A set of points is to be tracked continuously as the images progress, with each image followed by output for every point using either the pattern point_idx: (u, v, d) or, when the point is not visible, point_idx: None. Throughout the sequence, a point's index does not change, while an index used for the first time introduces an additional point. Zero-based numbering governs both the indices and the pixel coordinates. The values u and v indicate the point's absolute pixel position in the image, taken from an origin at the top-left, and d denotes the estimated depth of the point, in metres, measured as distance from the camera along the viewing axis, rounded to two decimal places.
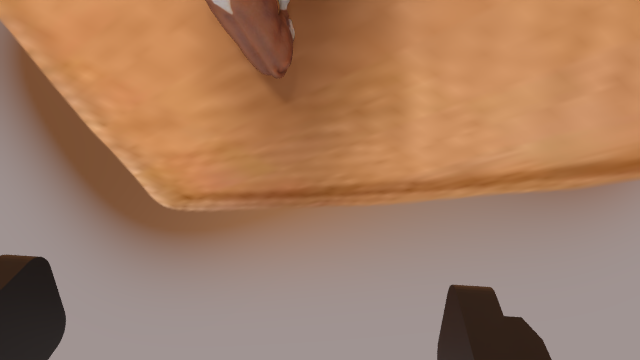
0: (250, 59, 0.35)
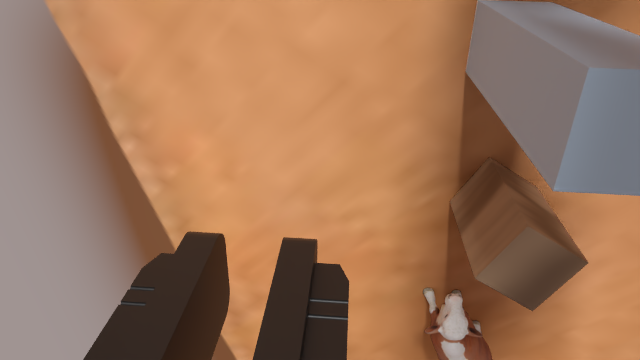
0: None
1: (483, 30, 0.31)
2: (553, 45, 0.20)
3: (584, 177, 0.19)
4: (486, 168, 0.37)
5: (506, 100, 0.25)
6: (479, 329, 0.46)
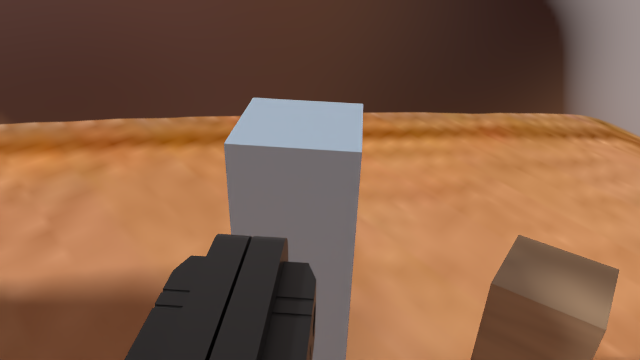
0: None
1: None
2: (231, 225, 0.19)
3: (344, 139, 0.18)
4: None
5: (322, 311, 0.21)
6: None
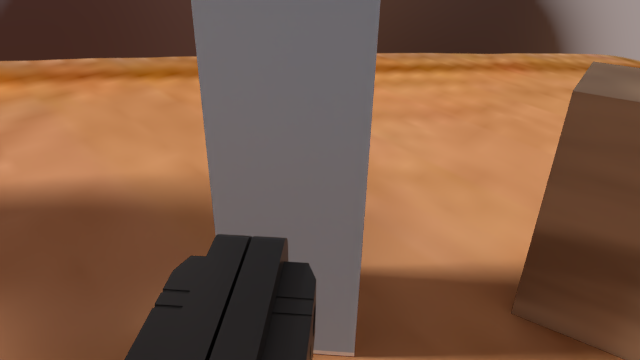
0: None
1: None
2: None
3: None
4: (531, 302, 0.20)
5: (331, 105, 0.14)
6: None
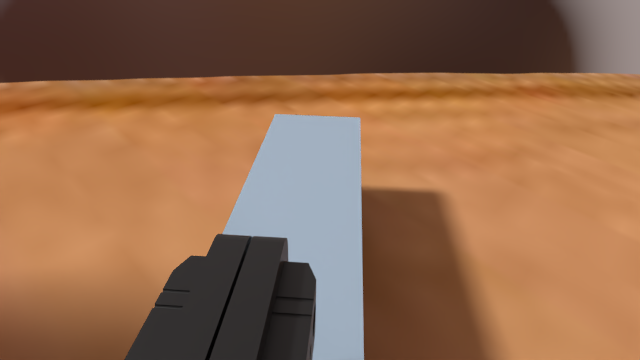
0: None
1: None
2: (264, 139, 0.25)
3: None
4: None
5: (334, 179, 0.21)
6: None
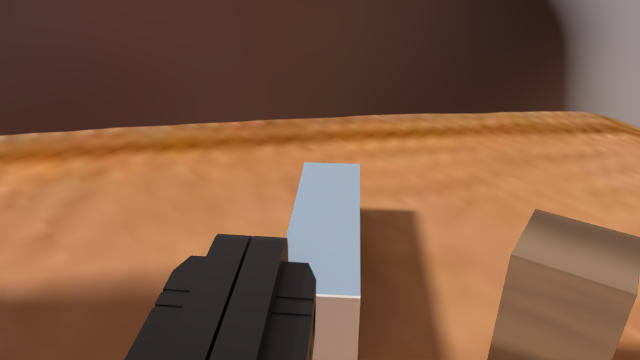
0: None
1: None
2: (300, 180, 0.40)
3: None
4: None
5: (344, 207, 0.36)
6: None
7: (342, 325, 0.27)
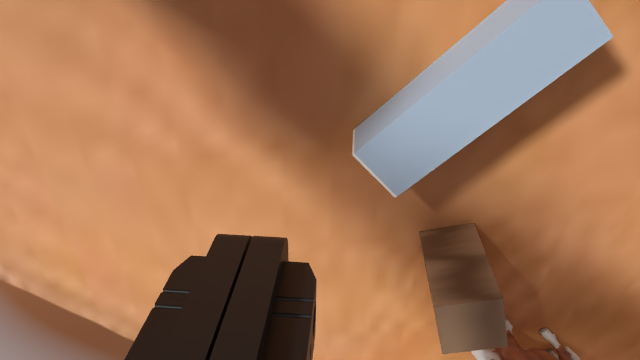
0: None
1: (396, 144, 0.35)
2: (519, 18, 0.30)
3: None
4: None
5: (497, 103, 0.33)
6: (549, 334, 0.48)
7: None
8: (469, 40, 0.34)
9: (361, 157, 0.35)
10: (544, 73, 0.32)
